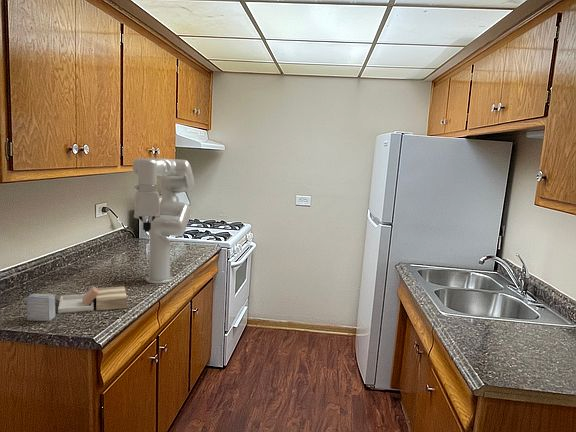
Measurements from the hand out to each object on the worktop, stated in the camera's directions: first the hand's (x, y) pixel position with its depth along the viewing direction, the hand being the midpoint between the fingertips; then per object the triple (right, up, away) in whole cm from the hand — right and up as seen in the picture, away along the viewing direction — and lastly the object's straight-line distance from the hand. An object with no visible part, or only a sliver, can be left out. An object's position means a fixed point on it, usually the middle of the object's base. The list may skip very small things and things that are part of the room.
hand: (146, 231), depth 189 cm
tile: (-17, -26, -14) cm, 34 cm away
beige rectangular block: (-11, -28, -11) cm, 32 cm away
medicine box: (-27, -30, -32) cm, 52 cm away
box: (-22, -28, -16) cm, 40 cm away
